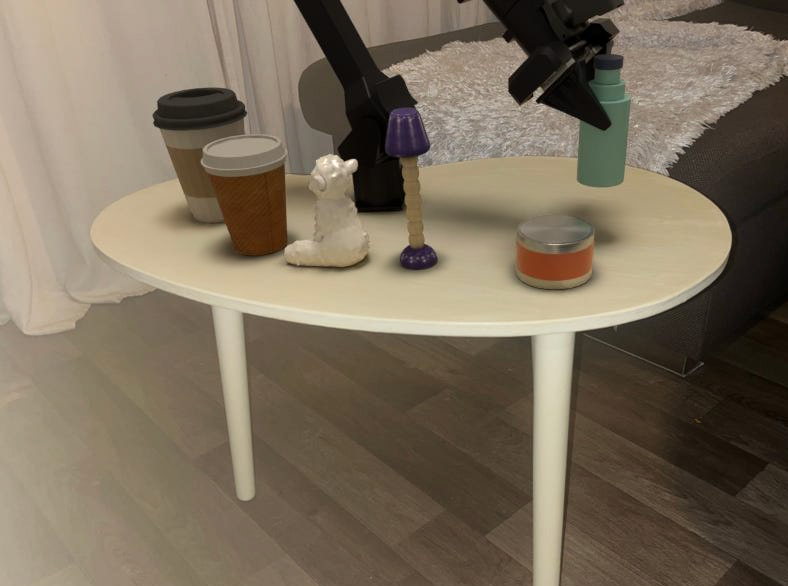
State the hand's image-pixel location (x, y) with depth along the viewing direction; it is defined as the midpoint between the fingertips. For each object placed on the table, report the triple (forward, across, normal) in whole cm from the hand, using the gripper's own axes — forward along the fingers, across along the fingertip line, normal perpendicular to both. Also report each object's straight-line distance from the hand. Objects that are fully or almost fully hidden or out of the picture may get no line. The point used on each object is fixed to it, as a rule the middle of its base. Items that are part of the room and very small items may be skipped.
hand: (616, 121), depth 81 cm
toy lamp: (-2, -14, +22) cm, 26 cm away
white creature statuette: (-9, -17, +28) cm, 34 cm away
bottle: (+4, 0, +6) cm, 7 cm away
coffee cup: (-25, -11, +44) cm, 52 cm away
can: (+8, -11, +11) cm, 17 cm away
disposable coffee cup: (-16, -18, +36) cm, 43 cm away
